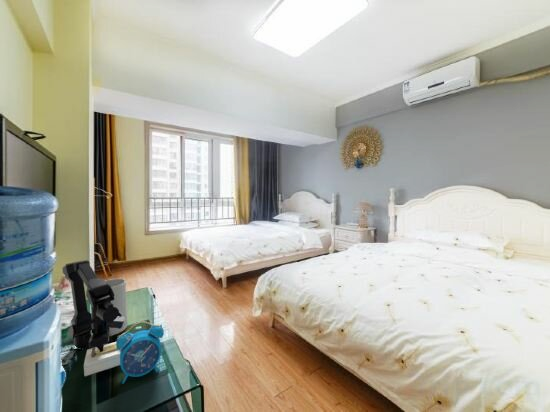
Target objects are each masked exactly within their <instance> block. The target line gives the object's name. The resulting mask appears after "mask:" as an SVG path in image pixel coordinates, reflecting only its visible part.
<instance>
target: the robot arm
mask: <svg viewBox="0 0 550 412" xmlns="http://www.w3.org/2000/svg"><path fill="white" fill-rule="evenodd" d="M62 274H63V275H64V277H65V280H67V281H68V282H69V283H70V288H71V297H72V303H73V311H74V314H73V317H72V318H71V322H70V324H71V325H70V326H69V329H67V330H68V331H67V332H68V336H69V338H70V339H72V344H74V345H75V346H76V347H78V348H81V349H82V348H83V350H84V348H85V347H86V348H89V349H92V348H95V347H97V348H98V349H99V351H102V350H103V348H104V345H106V344H109V342H110V336H109V332H110V328H118V329H121V328H122V326H123V323H124V321H125V317H124V316H122V314H121V312H119V310H118V308H116V307H115V306H113V304H112V303H111V301H113V300H115V298H114V296H115V295H114V293H113V290H112V288H111V287H110V285H108V283H107V282H106V280H105V279H101V278H99V277H98V275H97V274H96V272H95V271H94V269H93V267H92V266H91V264H90V261H89V260H88V259H87V260H78V261H74V262H73V261H72V262H70V263H65V265H64V266H63V267H62ZM85 286H86V291H85ZM108 295H109V296H110V297H107V296H108ZM104 297H107V298H104ZM103 298H104V299H103ZM87 301H88V303H89V305H90V312H89V311H88V303H87ZM109 327H110V328H109ZM88 345H89V346H88ZM86 348H85V349H86Z"/></svg>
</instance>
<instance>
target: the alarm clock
mask: <svg viewBox="0 0 550 412" xmlns="http://www.w3.org/2000/svg"><path fill="white" fill-rule="evenodd" d="M138 324H148V325H150V326H151V327H150V328H149V329H148V330H140V331H136V332H135V333H131V332H129V331H131V329H133V328H134V327H135V326H136V325H138ZM164 333H165V331H164V328H163V325H162V324H153V323H150V322H148V321H146V320H145V321H144V320H143V321H139V322H136V323H134V324H133V325H132V326H131V327H130V328H129V329H128V330H127V331H125V332H123V333H122V334H120V335H119V334H118V335H117V339H116V341H115V342H116V347H117V349H118V350H121V351H120V365H119V366H120V368H121V371H122V372H123V373H124V374H125V377H124V379H123V380H122V381H121V383H122V384H124V385H125V382H126V381H127V379H128V377H131V378H132V377H134V378H136V377H137V378H138V377H142V376H144V375H147V374H148V373H150V372H151V371H152V370H155V371H157V372H160V371H161V370H160V369H159V368H158V366H157V364H158V363H159V361H160V359H161V356H162V345H161V340H160V339H163V337H164Z"/></svg>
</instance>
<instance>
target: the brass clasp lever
mask: <svg viewBox="0 0 550 412" xmlns="http://www.w3.org/2000/svg"><path fill="white" fill-rule="evenodd" d="M116 349H117V347H116V344H114V345H110V346H107V347H104V348H103V350H102V351H99V349H97V350H96V356H97V355H100V354H103V353H106V352H109V351H112V350H116Z"/></svg>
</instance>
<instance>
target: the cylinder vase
mask: <svg viewBox="0 0 550 412" xmlns="http://www.w3.org/2000/svg"><path fill="white" fill-rule="evenodd" d="M105 281H106V282H107V283H108V285H110V287H111V288H112V290H113V293H114V295H115V296H114V298H115V300H113V301H111V303H112V304H113V306H115V307H116V308H118V310H119V312H121V314H122V316H124V317H125V321H124V323H123V326H122V328H121V329H118V328H110V327H109V328H110V332H109V337H112V336H114V335H117V334H118V335H119V334H120V333H121V332H123V331H125V330H126V329H127V327H128V309H127V308H128V307H127V305H128V304H127V302H128V301H127V284H126V279H124V278H111V279H106V280H105ZM107 297H110V296H109V295H108V296H107ZM107 297H104V298H107ZM104 298H103V299H104Z"/></svg>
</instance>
